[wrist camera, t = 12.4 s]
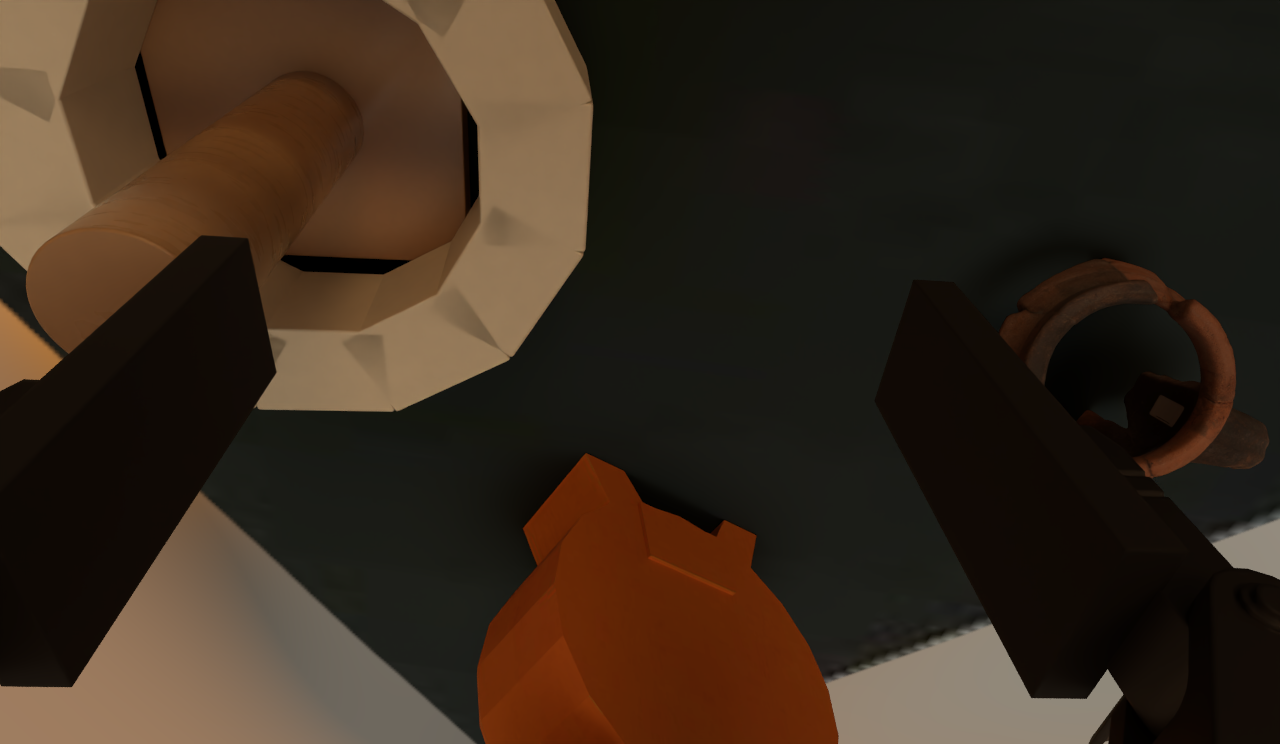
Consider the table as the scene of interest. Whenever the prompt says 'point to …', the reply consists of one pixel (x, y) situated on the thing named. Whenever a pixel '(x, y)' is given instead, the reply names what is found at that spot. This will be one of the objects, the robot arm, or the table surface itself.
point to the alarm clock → (644, 633)
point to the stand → (271, 151)
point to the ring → (321, 301)
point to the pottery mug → (1156, 405)
